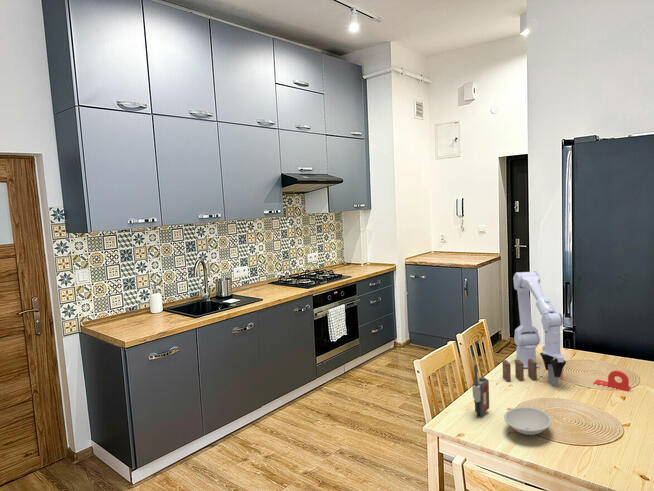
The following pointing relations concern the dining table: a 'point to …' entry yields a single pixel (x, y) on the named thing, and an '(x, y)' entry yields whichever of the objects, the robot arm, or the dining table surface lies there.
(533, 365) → the domino
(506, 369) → the brown wooden block
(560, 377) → the domino
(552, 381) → the gap domino
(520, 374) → the domino
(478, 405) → the walkie-talkie
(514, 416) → the dish
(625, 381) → the bracket
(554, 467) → the dining table surface
